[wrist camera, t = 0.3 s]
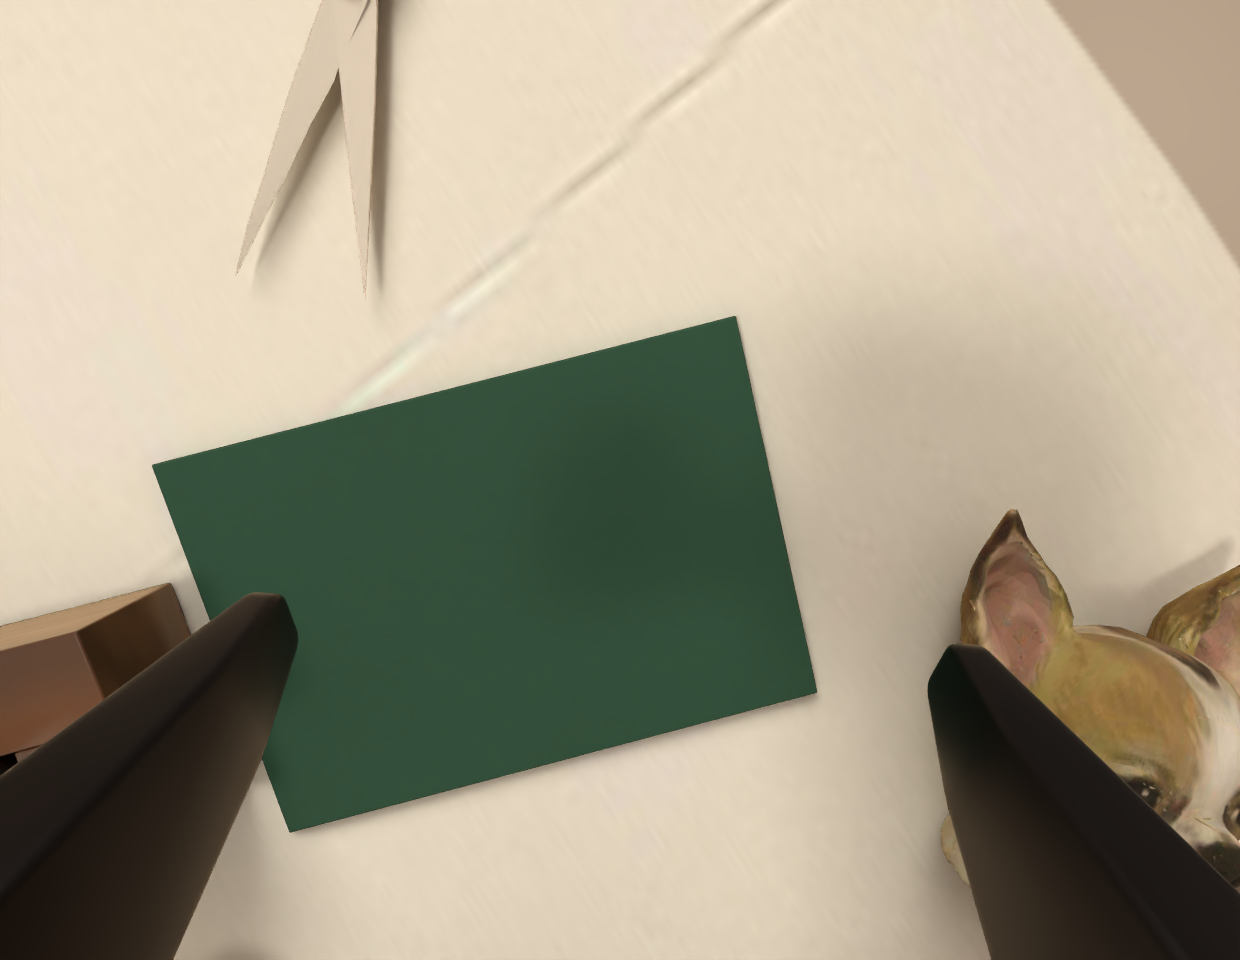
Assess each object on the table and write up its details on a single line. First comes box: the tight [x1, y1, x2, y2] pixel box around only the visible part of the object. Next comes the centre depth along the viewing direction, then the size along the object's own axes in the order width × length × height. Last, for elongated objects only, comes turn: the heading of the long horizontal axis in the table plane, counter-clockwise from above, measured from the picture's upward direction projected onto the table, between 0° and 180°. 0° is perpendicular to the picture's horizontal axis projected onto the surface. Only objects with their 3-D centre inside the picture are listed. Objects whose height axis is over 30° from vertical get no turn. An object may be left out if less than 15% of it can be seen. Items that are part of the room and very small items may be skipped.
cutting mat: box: [152, 316, 817, 832], centre depth 24 cm, size 14×20×1 cm
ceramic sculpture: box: [941, 509, 1240, 893], centre depth 22 cm, size 11×9×15 cm
